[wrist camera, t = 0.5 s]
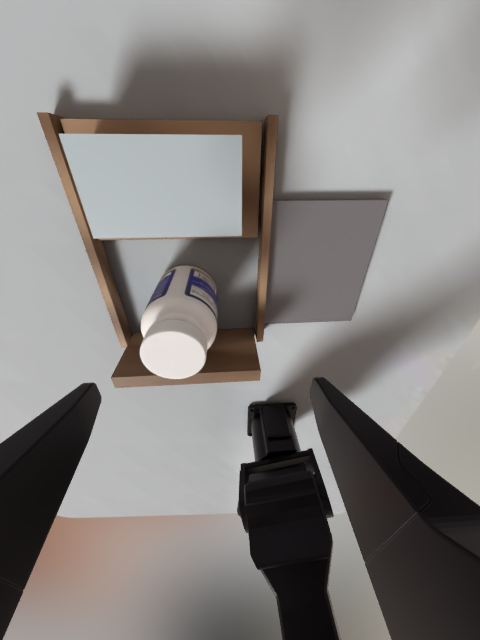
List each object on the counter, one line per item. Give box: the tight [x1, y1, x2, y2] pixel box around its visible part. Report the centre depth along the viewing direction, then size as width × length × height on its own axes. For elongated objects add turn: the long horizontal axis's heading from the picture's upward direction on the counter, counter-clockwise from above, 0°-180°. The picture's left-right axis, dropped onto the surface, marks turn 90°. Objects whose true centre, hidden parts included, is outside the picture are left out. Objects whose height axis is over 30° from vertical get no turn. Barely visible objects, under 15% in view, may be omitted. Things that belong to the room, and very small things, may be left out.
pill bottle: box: [140, 265, 217, 379], centre depth 18 cm, size 5×5×9 cm
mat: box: [264, 199, 388, 324], centre depth 21 cm, size 11×9×1 cm
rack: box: [37, 113, 278, 388], centre depth 17 cm, size 18×14×6 cm
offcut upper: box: [59, 134, 242, 239], centre depth 14 cm, size 5×9×2 cm, turn 90°
